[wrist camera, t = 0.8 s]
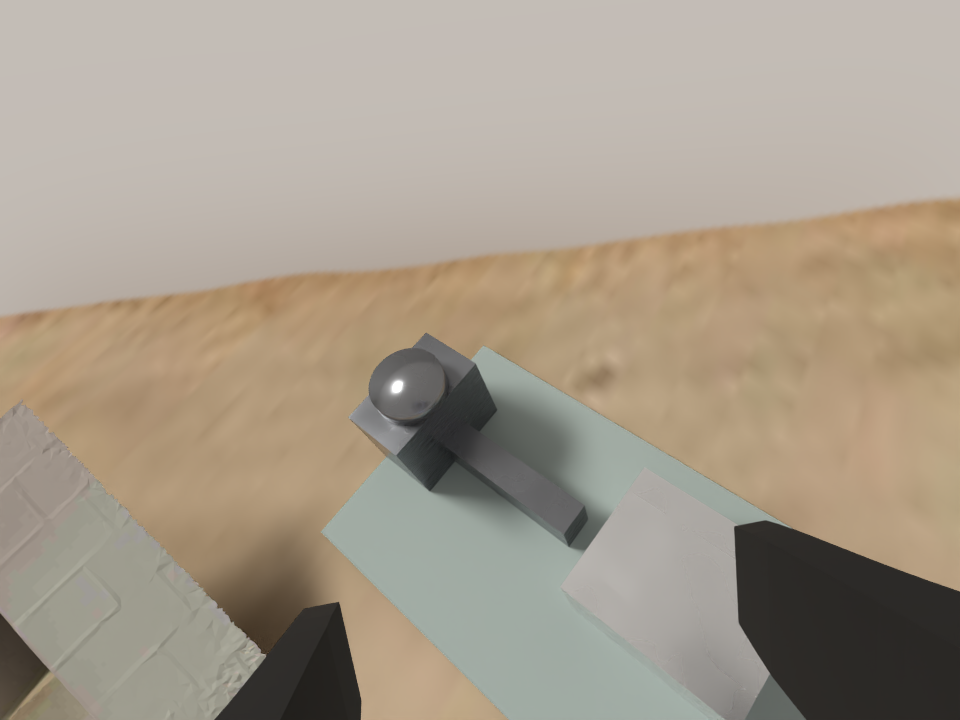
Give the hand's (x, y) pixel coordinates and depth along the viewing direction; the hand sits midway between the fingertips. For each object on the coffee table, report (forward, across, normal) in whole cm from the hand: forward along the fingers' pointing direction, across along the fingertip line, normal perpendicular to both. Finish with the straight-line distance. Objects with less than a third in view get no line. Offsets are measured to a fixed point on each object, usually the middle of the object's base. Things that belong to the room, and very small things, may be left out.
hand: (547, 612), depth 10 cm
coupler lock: (+9, -6, +8) cm, 14 cm away
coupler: (+15, 0, +4) cm, 16 cm away
